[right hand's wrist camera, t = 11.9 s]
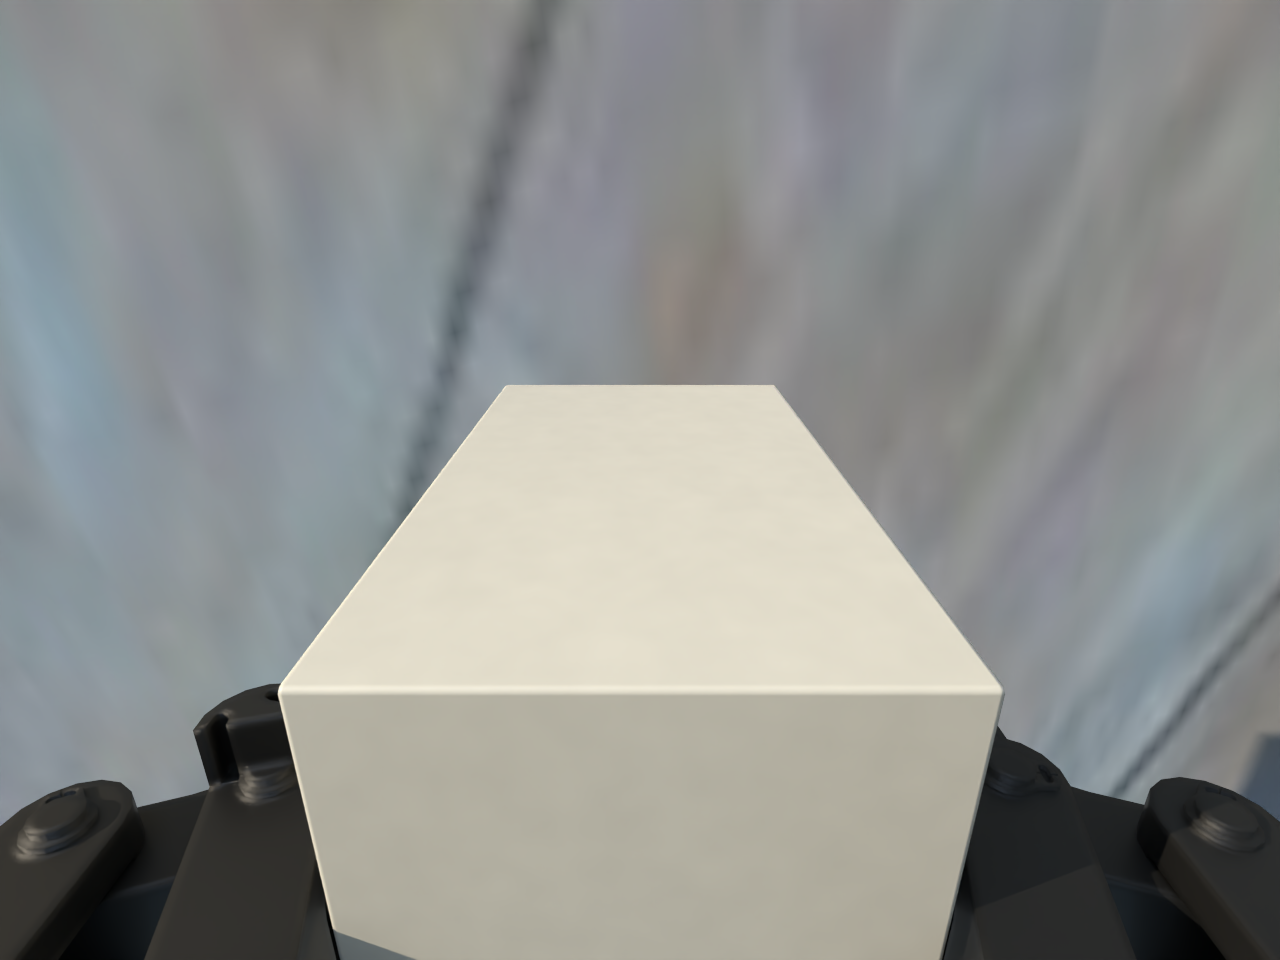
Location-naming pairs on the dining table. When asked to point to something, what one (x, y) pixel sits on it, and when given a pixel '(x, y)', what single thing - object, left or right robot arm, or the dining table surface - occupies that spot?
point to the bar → (641, 701)
